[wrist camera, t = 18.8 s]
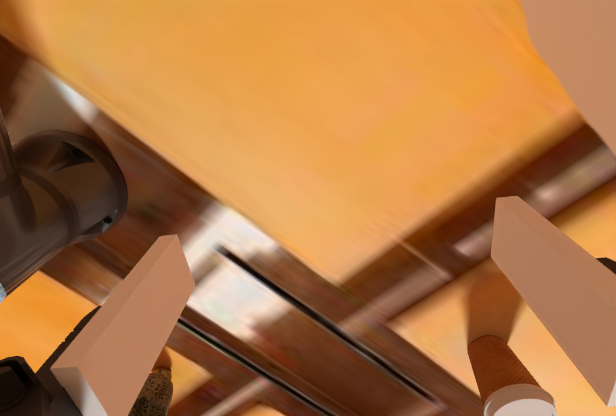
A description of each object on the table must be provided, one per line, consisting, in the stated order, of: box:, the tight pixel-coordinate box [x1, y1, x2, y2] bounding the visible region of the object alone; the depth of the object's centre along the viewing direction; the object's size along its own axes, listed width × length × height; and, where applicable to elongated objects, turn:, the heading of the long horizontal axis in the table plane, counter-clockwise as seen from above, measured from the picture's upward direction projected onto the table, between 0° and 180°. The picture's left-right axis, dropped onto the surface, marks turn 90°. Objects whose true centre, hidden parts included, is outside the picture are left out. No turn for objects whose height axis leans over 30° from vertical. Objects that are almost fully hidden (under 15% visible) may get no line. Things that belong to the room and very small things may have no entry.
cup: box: [128, 367, 173, 416], centre depth 60 cm, size 8×7×8 cm
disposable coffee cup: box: [468, 336, 557, 416], centre depth 53 cm, size 10×10×12 cm
